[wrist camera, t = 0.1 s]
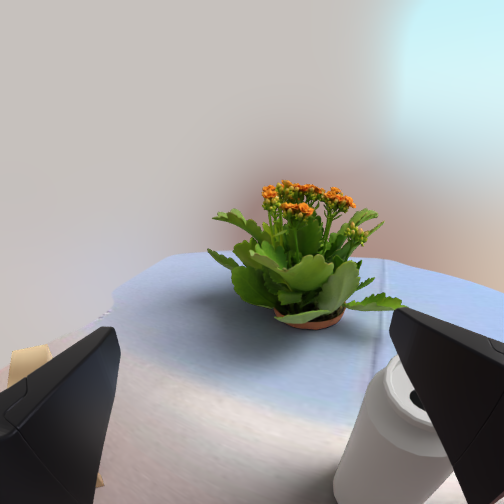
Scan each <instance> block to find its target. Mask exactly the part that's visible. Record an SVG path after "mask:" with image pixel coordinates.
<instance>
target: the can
mask: <svg viewBox="0 0 504 504" xmlns="http://www.w3.org/2000/svg"><path fill="white" fill-rule="evenodd" d="M453 471H454V470H453V467H452V465H451V463H450V461H449V459H448V456H447V454H446V452H445V450H444V448H443V446H442V443H441V441H440V439H439V437H438V435H437V433H436V431H435V429H434V427H433V425H432V423H431V421H430V419H429V417H428V415H427V413H426V411H425V409H424V407H423V405H422V403H421V401H420V399H419V397H418V395H417V393H416V391H415V389H414V387H413V385H412V384H411V382H410V380H409V378H408V376H407V374H406V372H405V370H404V368H403V366H402V363H401V361H400V358H399V356H398V354H397V355H396V356H395V357H393V358H392V359H391V360H390V362H389V363H388V365H387V366H386V367H385V368H383V369H382V370H381V371H379V372H378V373H376V374H375V376H374V377H373V379H372V380H371V382H370V383H369V385H368V387H367V390H366V393H365V396H364V399H363V402H362V405H361V408H360V411H359V414H358V417H357V420H356V422H355V425H354V428H353V431H352V433H351V436H350V438H349V441H348V444H347V446H346V449H345V451H344V454H343V456H342V458H341V461H340V463H339V466H338V468H337V471H336V474H335V477H334V480H333V490H334V496H335V498H336V500H337V502H338V504H423V503H424V502H425V501H426V500H427V499H428V498H429V497H430V496H431V495H432V494H433V493H434V492H435V491H436V490H437V489H438V488H439V487H440V485H441V484H442V483H443V482H444V481H445V480H446V479H447V478H448V477H449V476H450V474H451V473H452V472H453Z"/></svg>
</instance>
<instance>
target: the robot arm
mask: <svg viewBox="0 0 504 504" xmlns="http://www.w3.org/2000/svg"><path fill="white" fill-rule="evenodd" d="M389 334H390V337H391V339H392V342H393V344H394V346H395V349H396V351H397V354H398V356H399V358H400V361H401V363H402V366H403V368H404V370H405V372H406V374H407V376H408V378H409V380H410V382H411V384H412V385H413V387H414V389H415V391H416V393H417V395H418V397H419V399H420V401H421V403H422V405H423V407H424V409H425V411H426V413H427V415H428V417H429V419H430V421H431V423H432V425H433V427H434V429H435V431H436V433H437V435H438V437H439V439H440V441H441V443H442V446H443V448H444V450H445V452H446V454H447V456H448V459H449V461H450V463H451V465H452V467H453V470H454V472H455V475H456V477H457V479H458V482H459V484H460V486H461V489H462V491H463V494H464V496H465V498H466V501H467V503H468V504H494V503H496V502H497V501H498V500H500V499H501V498H503V497H504V343H502V342H500V341H497V340H494V339H491V338H487V337H486V336H483V335H481V334H478V333H475V332H472V331H470V330H467V329H464V328H462V327H459V326H456V325H454V324H451V323H448V322H446V321H443V320H440V319H437V318H435V317H432V316H429V315H427V314H424V313H421V312H419V311H416V310H413V309H411V308H408V307H400V308H396V309H395V310H394V312H393V316H392V320H391V324H390V329H389ZM120 356H121V351H120V346H119V343H118V339H117V335H116V331H115V329H114V328H113V327H100V328H98V329H97V330H95V331H94V332H92V333H91V334H89V335H88V336H86V337H85V338H83V339H82V340H80V341H78V342H77V343H75V344H74V345H72V346H71V347H69V348H68V349H66V350H65V351H63V352H62V353H60V354H59V355H57V356H56V357H54V358H53V359H51V360H50V361H48V362H47V363H45V364H44V365H42V366H41V367H39V368H38V369H36V370H35V371H33V372H32V373H30V374H29V375H27V377H24V378H23V379H21V380H20V381H18V382H17V383H15V384H14V385H12V386H11V387H9V388H7V389H6V390H4V391H2V392H1V393H0V504H93V500H94V494H95V488H96V482H97V476H98V471H99V465H100V460H101V455H102V450H103V445H104V441H105V436H106V431H107V427H108V423H109V418H110V414H111V410H112V406H113V402H114V397H115V391H116V384H117V377H118V369H119V363H120Z"/></svg>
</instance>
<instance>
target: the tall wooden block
mask: <svg viewBox="0 0 504 504" xmlns="http://www.w3.org/2000/svg"><path fill="white" fill-rule="evenodd" d="M51 359H53V357H52V355H51V352H50V350H49V347H48V345H47V344H45V345H41V346H35V347H30V348H26V349H21V350H16V351H12V357H11V363H10V369H9V377H8V385H7V388H9V387H11V386H12V385H14V384H15V383H17V382H18V381H20V380H21V379H23V378H24V377H27V375H29V374H30V373H32V372H33V371H35V370H36V369H38V368H39V367H41V366H42V365H44V364H45V363H47V362H48V361H50V360H51ZM101 486H104V484H103V480H102V477H101V475H100V474H99V473H98V476H97V482H96V487H101Z"/></svg>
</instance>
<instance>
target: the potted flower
mask: <svg viewBox="0 0 504 504" xmlns="http://www.w3.org/2000/svg"><path fill="white" fill-rule="evenodd" d="M282 184H283V185H282ZM282 184H280V183H277V185H276V187H274V186H271V185H269V186H268V187H263V189H262V190H263V191H264V192H262V196H263V197H264V200H265V201H264V202H263V204H264V205H262V207H263V208H264V210H268V217H269V224H270V226H268V224H266V223H265V222H263V224H262V225H263V229H264V231H263V232H262V231H261V228H260V227H259V226H257V223H256V222H255V221H254V220H252V219H249V220H245V219H244V217H243V216H242V214H241V212H240V211H239V210H237V209H232V210H231V211H230V212H228V213H223V212H218V213H217V215H218V216H217V217H214V218H212V219H215V220H221V221H226V222H229V223H232V224H234V225H236V226H239V227H240V228H242V229H244V230H245V231H247V232H248V233H249V234H251V235H252V236H253V237H254V238H255V239H256V240H257V241H258V243H257V241H256V240H255V239H254V238H253V237H251V239H250V243H248V242H247V241H246V240H244V241H243V242H242V243H238V244H236V245H235V246H234V250H233V251H232V252H233V253H235V255H236V256H237V257H238V258H239V259H240V260H241V261H242V262H243V264H244V265H245V266H246V267H247V268H246V267H245V266H239V265H238V264H237V263H236V262H235V261H234V260H233V259H232V258H230V257H229V258H228V259H227V258H226V257H225V256H224V255H222V254H220V255H219V254H218V253H217V252H215V251H212V250H211V249H207V250H208V253H209V254H210V255H211V256H212V257H213V258H214V259H215V260H216V261H217V262H218V263H220V264H221V265H223V266H224V267H226V268H228V269H230V270H231V273H232V276H231V279H232V284H233V285H234V290H235V292H236V293H237V294H238V295H240V297H241V299H242V300H243V301H245V302H247V303H249V304H252V305H256V306H261V307H265V308H269V309H274V312H275V314H276V316H277V317H274V318H276V319H277V320H279V321H281V322H284V323H286V324H287V325H290V326H292V327H295V328H300V329H314V330H318V329H321V328H326V327H329V326H331V325H334V324H336V323H337V322H338V321H339V320H340V319H341V317H342V316H343V314H344V311H345V309H346V308H348V309H352V310H359V311H390V310H395V309H396V308H400V307H407V306H405V305H401V303H402V300H400V299H398V298H396V297H395V298H391V297H390V296H389V297H385V293H384V292H383V293H381V294H377V295H376V296H374V294H372V295H371V296H370V297H369V298H368V297H365V299H364V300H363V301H361V302H355V300H353V301H352V302H350V303H346V302H345V301H346V300H347V299H348V298H349V297H350V296H351V295H352V294H353V293H354V292H355V291H357V290H359V289H361V288H363V287H365V286H367V285H368V284H370V283H371V282H373V280H374V279H375V277H374V278H371V279H370V278H368V279H367V280H365V282H364V283H363V282H361V284H360V283H359V281H360V277H358V275H359V269H360V266H361V264H362V260H361V261H359V262H358V263H356V262H353V261H352V260H350V261H347V260H348V258H349V256H350V255H351V254H352V252H353V251H354V250H355V249H356V248H357V247H358V246H359V245H360V244H361V246H364V245H363V243H365V242H366V241H367V237H368V236H370V235H371V234H372V233H373V232H374V231H376V230H377V229H378V228H379V227H380V226H381V225H383V223H384V221H383V222H381V223H380V224H378V225H377V226H376V227H375V228H374V229H372V230H370V231H365V232H363V231H362V229H361V228H360V229H358V226H359V225H360V224H361V223H363V222H364V221H367V220H369V219H372V218H377V217H378V213H377V212H375V211H373V210H368V209H367V208H365V209H363V210H361V211H360V212H359V211H357V212H356V213H355V214H354V216H353V217H352V218H351V219H350V221H349V223H344V224H343V225H342V226H341V229H340V230H339V231H338V232H337V233H331V234H330V238H329V242H328V241H327V239H328V235H329V230H330V227H331V223H332V221H333V220H335V219H337V218H339V217H340V216H341V215H339V216H338V217H336V218H334V217H335V216H336V215H337V214H338V213H339V212H344V213H346V212H347V211H348V210H347V209H349V206H350V207H352V208H356V205H355V204H354V203H353V199H352V198H351V197H347V196H345V197H343V193H339V192H341V191H340V190H339V189H338V188H336V187H335V188H334V187H332V188H331V191H328V192H327V193H325V190H324V189H323V188H321V189H320V188H318V187H316V186H314V185H313V184H312V185H310V184H306V185H304V186H301V185H299V184H298V183H297V184H292V183H291V182H289V181H288V180H282ZM338 193H339V194H338ZM304 195H305V196H306V202H304V201H303V200H304ZM282 198H283V199H282ZM310 200H311V202H312V200H313V202H312V203H310V204H309V201H310ZM317 200H319V201H321V202H325V204H326V206H325V205H324V207H325V208H326V207H327V208H326V210H327V212H328V213H327V215H326V213H325V211H324V214H325V216H326V217H327V223H326V228H325V232H324V228H323V227H322V226H323V222H322V223H321V217H320V216H316V215H317V213H316V211H315V210H316V209H317V208H318V207H319V201H318V204H317V206H316V207H315V208H314V207H312V205H313V204H314V202H315V201H317ZM283 201H284V202H283ZM307 202H308V204H306V203H307ZM278 207H279V208H278ZM277 208H278V211H277V212H276V209H277ZM328 208H329V209H328ZM338 208H339V210H338V212H337V211H336V210H337V209H338ZM332 209H333V211H334V212H335V211H336V212H335V213H334V212H333V211H332V212H333V214H331V213H332V212H331V210H332ZM282 210H283V213H282ZM276 213H279V214H277V215H276ZM273 214H274V216H273ZM282 214H283V215H282ZM271 216H272V217H273V218H274V221H273V222H274V225H273V226H272V222H271ZM278 216H279V219H278V220H277V217H278ZM282 216H283V218H284V219H286V220H287V221H288V223H287V224H284V226H283V222H282ZM333 218H334V219H333ZM323 232H324V235H323ZM355 234H356V235H355ZM322 236H323V238H322ZM325 236H326V237H325ZM347 237H348V242H347V243H346V244H345V245H344V246H343V247H342V248H341V246H342V245H343V243H344V242H345V240H346V239H347ZM349 237H350V238H351V240H350V239H349ZM324 240H325V241H324ZM359 284H360V285H359ZM358 285H359V286H358ZM408 308H409V307H408Z"/></svg>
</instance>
